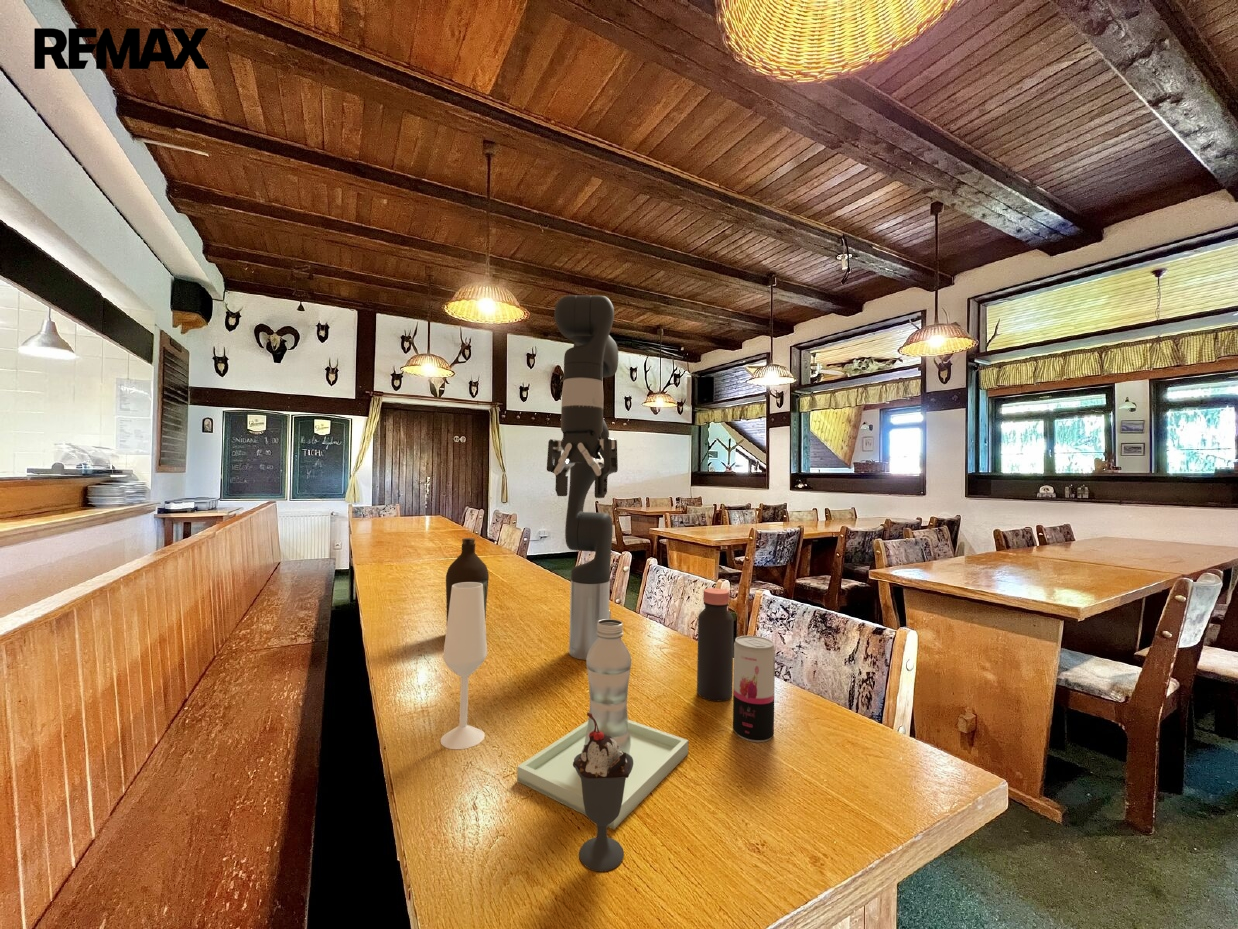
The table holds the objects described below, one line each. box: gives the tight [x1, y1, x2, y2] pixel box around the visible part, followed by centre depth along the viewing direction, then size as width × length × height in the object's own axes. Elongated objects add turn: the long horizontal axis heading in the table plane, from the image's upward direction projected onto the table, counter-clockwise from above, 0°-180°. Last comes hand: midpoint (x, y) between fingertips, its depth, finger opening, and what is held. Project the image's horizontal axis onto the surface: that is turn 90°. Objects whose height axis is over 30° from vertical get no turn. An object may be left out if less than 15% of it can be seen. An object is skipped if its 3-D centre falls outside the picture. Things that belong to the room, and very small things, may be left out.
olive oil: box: [445, 537, 489, 622], centre depth 128 cm, size 11×11×25 cm
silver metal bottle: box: [585, 618, 632, 755], centre depth 72 cm, size 6×7×20 cm
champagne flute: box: [440, 582, 488, 750], centre depth 79 cm, size 7×7×24 cm
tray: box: [516, 719, 689, 830], centre depth 71 cm, size 20×16×2 cm
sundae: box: [573, 712, 633, 872], centre depth 55 cm, size 7×7×15 cm
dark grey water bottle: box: [696, 587, 735, 702], centre depth 97 cm, size 7×7×20 cm
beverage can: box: [732, 635, 776, 743], centre depth 82 cm, size 7×6×15 cm
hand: (580, 497), depth 89 cm, fingers open, 8 cm apart
